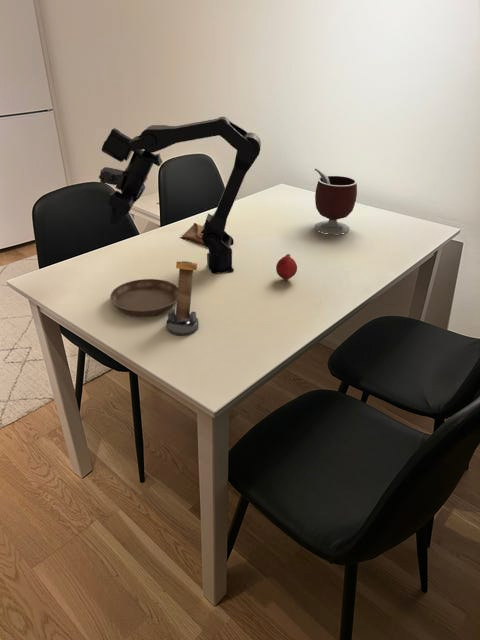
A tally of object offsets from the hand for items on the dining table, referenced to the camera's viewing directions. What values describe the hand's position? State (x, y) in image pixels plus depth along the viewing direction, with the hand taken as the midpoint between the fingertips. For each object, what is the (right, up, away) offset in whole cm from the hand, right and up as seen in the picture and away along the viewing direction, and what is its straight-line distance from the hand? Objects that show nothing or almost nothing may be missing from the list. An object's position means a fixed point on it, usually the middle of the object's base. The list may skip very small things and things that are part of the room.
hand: (115, 218), depth 140 cm
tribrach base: (+21, -30, -22) cm, 43 cm away
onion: (+48, -17, 0) cm, 51 cm away
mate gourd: (+67, +4, +36) cm, 76 cm away
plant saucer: (+11, -25, -12) cm, 29 cm away
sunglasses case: (+24, -3, +24) cm, 34 cm away
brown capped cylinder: (+22, -28, -23) cm, 42 cm away
